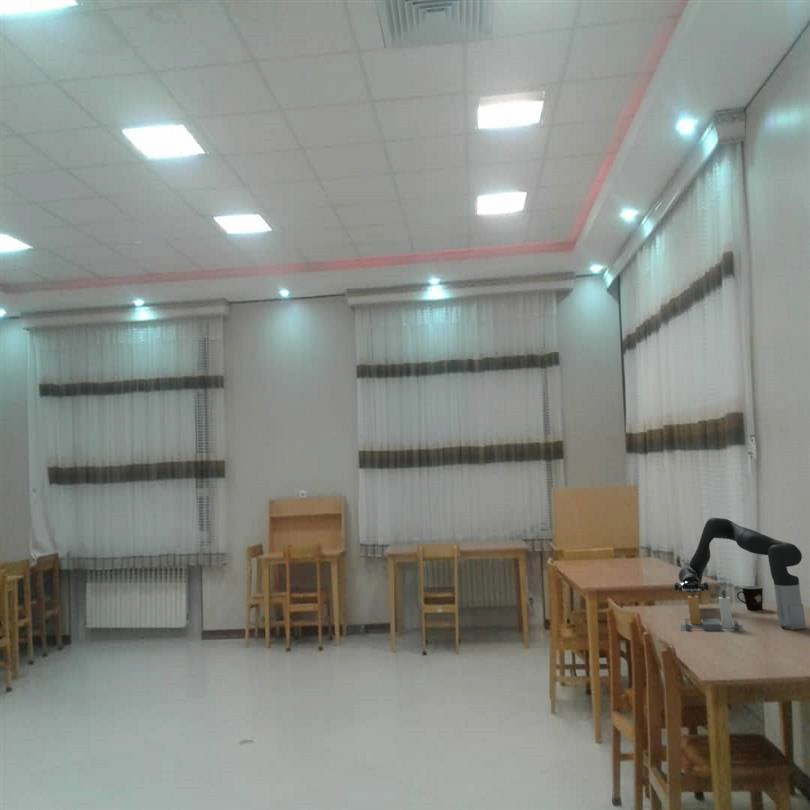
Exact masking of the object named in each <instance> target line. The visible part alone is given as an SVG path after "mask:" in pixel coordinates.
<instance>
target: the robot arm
mask: <svg viewBox="0 0 810 810" xmlns="http://www.w3.org/2000/svg"><path fill="white" fill-rule="evenodd" d="M702 530H703V531H702V533H701V536H700V539H699V541H698V542H699V543H698V545H697V547H696V550H695V551H694V553H693V555H692V557H691V559H690V561H689V566H690V567H683V568H681V569H680V570H679V573H678V580H679V582H681V583H679V582H674V591H680V592H683V591H684V592H687V593H689V594H691V591H690V589H694V594H695V593H696V592H699V591H701V592H702V593H703V592H704V591H705V590H706V591H709V590H710V589H709V583H708V582H707V581H706V582H703V583H702V581H703V575H704V571H705V569H706V567H707V566H708V563H709V561H710V559H711V550H710V545H711V542H712V541H713V540H714V539H721V540H722V539H723V540H731V541H734V542H735V543H736V544H737V546H738V547H739V548H741V549H743V550H744V551H747V552H749V553H753V554H756V555H761V556H767V559H768V565H769V569H770V570H769V571H770V575H771V578H772V580H773V585H774V588H773V589H774V595H775V596H774V597H775V604H776V611H777V621H778V626H780V627H781V629H784V630H791V631H794V630H795V629H796V630H803V629H806V628H807V626H806V617H805V610H804V604H803V603H802V595H801V588H800V580H799V579H800V578H799V577H798V576H796V575H794V574H791V573H789V571H788V568H789V567H795V566H797V565H799V564H800V563H801V561H802V559H803V556H802V552H801V550H800V549H799V548H798V547H797V545H795V544H793V543H790V542H786V541H782V540H778V539H774V538H773V537H771V536H768V535H765V534H763V533H761V532H758V531H756V530H753V529H751V528H747V527H744V526H741V525H739V524H737V523H735V522H734V521H731V520H730V519H727V518H724V517H723V518H722V517H710V518H709V519H707V521H706V522H705V525H704V527H703V529H702Z"/></svg>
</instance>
